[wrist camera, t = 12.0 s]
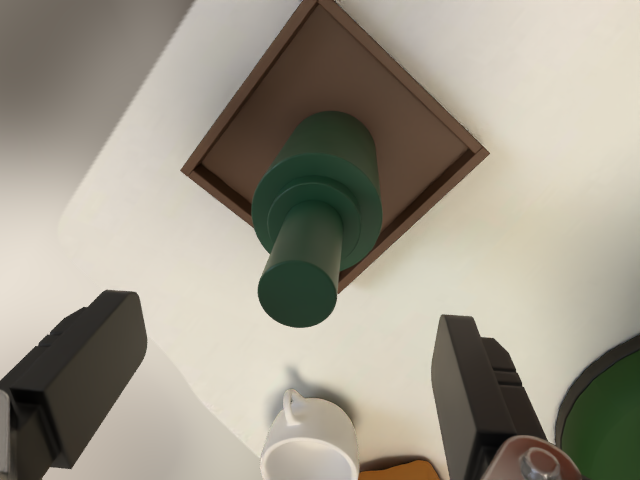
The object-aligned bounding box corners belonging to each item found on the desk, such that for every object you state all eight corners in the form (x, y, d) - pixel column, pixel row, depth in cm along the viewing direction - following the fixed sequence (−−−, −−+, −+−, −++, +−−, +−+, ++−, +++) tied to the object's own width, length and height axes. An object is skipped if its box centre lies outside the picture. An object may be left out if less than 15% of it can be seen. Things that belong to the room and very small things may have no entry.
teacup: (369, 441, 39) (370, 500, 34) (289, 453, 40) (279, 510, 36) (337, 356, 35) (333, 408, 30) (250, 372, 36) (233, 425, 32)
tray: (191, 162, 29) (179, 170, 27) (318, -14, 24) (315, -18, 22) (339, 279, 32) (338, 294, 30) (481, 145, 27) (490, 153, 25)
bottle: (270, 137, 27) (168, 257, 13) (350, 93, 26) (335, 174, 11) (314, 211, 29) (266, 389, 15) (390, 174, 28) (421, 333, 13)
